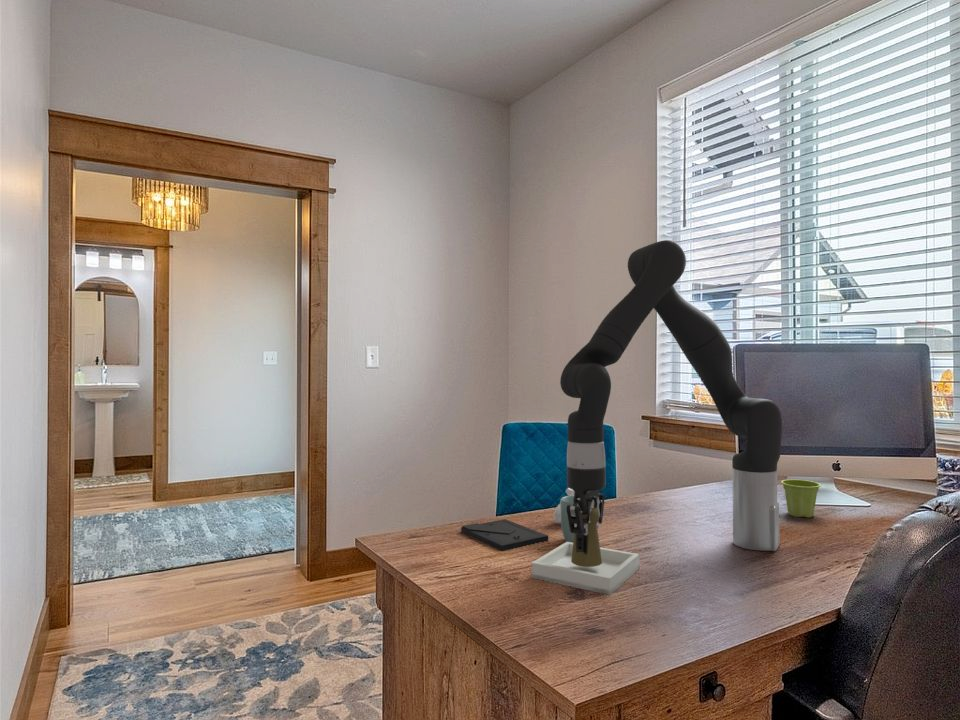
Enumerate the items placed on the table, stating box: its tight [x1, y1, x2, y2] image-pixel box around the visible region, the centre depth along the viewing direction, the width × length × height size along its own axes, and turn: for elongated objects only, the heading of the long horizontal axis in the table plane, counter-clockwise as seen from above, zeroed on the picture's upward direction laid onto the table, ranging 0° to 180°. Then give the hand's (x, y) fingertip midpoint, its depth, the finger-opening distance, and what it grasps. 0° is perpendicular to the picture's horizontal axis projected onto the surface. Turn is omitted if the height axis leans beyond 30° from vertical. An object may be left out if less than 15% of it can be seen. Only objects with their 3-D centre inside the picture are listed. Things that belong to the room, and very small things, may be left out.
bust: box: [553, 487, 575, 525], centre depth 156 cm, size 12×8×11 cm
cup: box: [559, 495, 575, 543], centre depth 140 cm, size 8×8×10 cm
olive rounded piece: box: [571, 507, 602, 567], centre depth 119 cm, size 6×6×11 cm
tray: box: [531, 541, 641, 596], centre depth 119 cm, size 16×16×3 cm
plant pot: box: [781, 479, 822, 519], centre depth 163 cm, size 9×9×9 cm
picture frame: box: [460, 519, 549, 552], centre depth 145 cm, size 13×2×18 cm
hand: (587, 550), depth 119 cm, fingers closed on olive rounded piece, 4 cm apart
